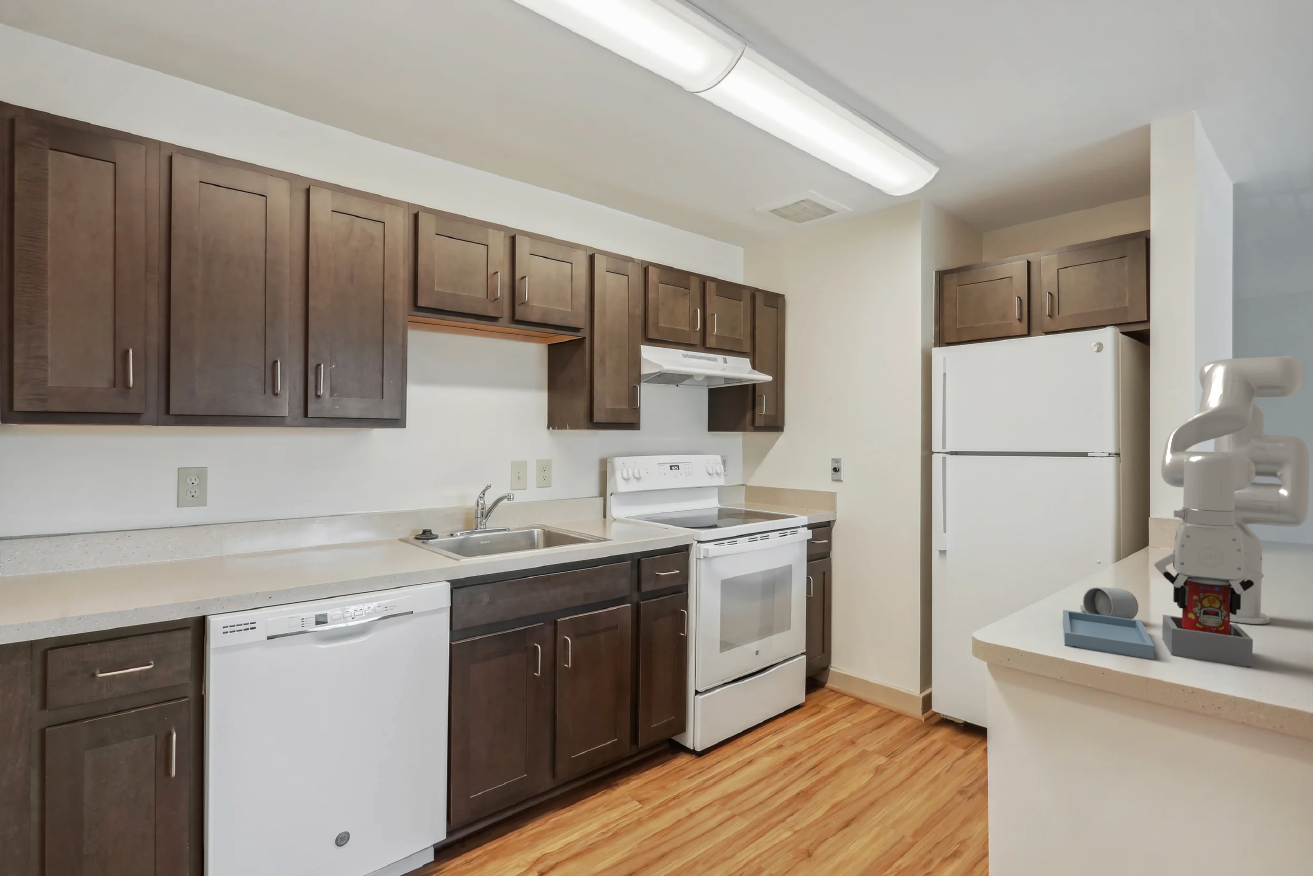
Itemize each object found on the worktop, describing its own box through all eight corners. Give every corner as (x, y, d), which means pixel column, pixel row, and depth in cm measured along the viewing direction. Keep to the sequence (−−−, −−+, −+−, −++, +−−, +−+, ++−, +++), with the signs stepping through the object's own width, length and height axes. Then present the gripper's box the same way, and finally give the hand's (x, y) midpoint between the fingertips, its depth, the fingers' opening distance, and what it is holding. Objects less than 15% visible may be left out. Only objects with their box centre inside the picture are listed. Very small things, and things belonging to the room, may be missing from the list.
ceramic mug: (1141, 624, 143) (1141, 589, 143) (1112, 626, 141) (1112, 591, 141) (1097, 612, 153) (1098, 579, 153) (1070, 614, 151) (1070, 581, 151)
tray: (1062, 621, 144) (1063, 610, 144) (1140, 632, 137) (1140, 620, 137) (1064, 645, 127) (1064, 632, 127) (1153, 659, 120) (1154, 646, 120)
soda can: (1192, 643, 123) (1193, 578, 123) (1175, 631, 130) (1176, 570, 129) (1237, 647, 121) (1239, 581, 120) (1217, 635, 127) (1219, 573, 127)
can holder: (1162, 639, 133) (1162, 614, 132) (1236, 649, 127) (1236, 624, 127) (1171, 654, 123) (1172, 628, 123) (1252, 667, 117) (1252, 639, 117)
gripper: (1154, 517, 126) (1152, 607, 126) (1274, 524, 117) (1272, 622, 117) (1149, 512, 132) (1147, 598, 133) (1263, 519, 123) (1260, 612, 124)
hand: (1205, 609), depth 125 cm, fingers closed on soda can, 7 cm apart
